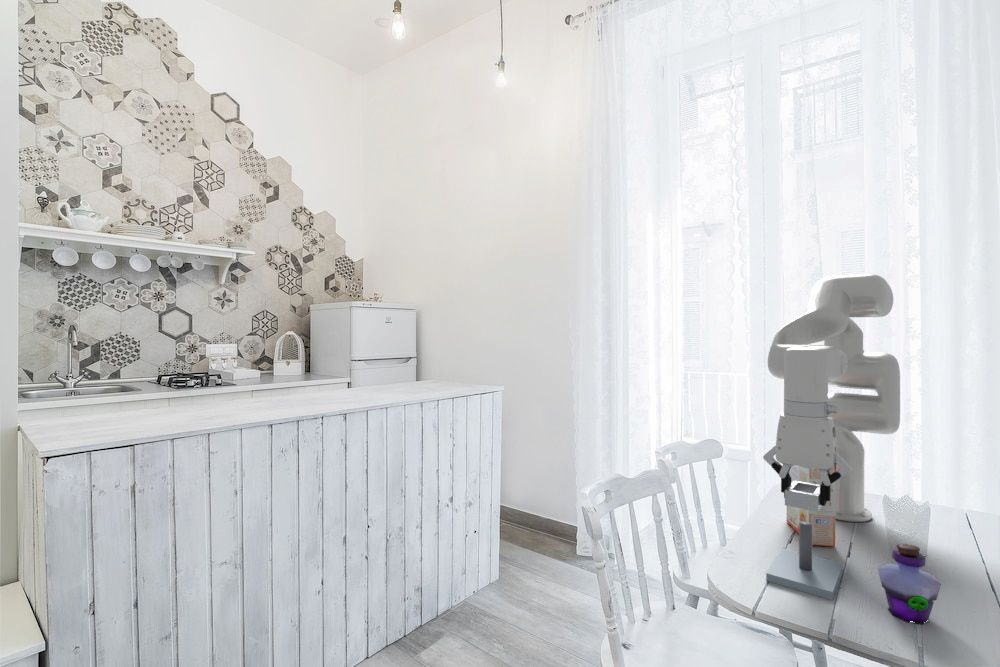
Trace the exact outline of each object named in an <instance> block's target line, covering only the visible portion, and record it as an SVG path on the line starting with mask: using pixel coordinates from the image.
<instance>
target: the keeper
mask: <svg viewBox="0 0 1000 667" xmlns="http://www.w3.org/2000/svg"><path fill="white" fill-rule="evenodd" d="M772 562H773V563H772V564H770V567H769V568H768V570H767V571H766V573H765V574H766V576H765V577H766V578H765V579H766V582H770V583H773V584H776V585H780V586H783V587H787V588H791V589H792V590H797V591H800V592H803V593H807V594H811V595H813V596H818V597H820V598H824V599H827V600H830V601H833V600H834V597H835V595H836V592H837V590H838V586H839V583H840V581H841V578H842V576H843V574H844V573H843V572H844V563H843V562H839V561H834V560H830V559H827V558H823V557H819V556H815V555H813V545H812V524H811V523H808V522H799V534H798V551H796V550H792V549H787V548H784V547H783V548H782V549H781V550H780V551H779V553H778V555H777V556H776V557H775V560H774V561H772Z"/></svg>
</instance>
